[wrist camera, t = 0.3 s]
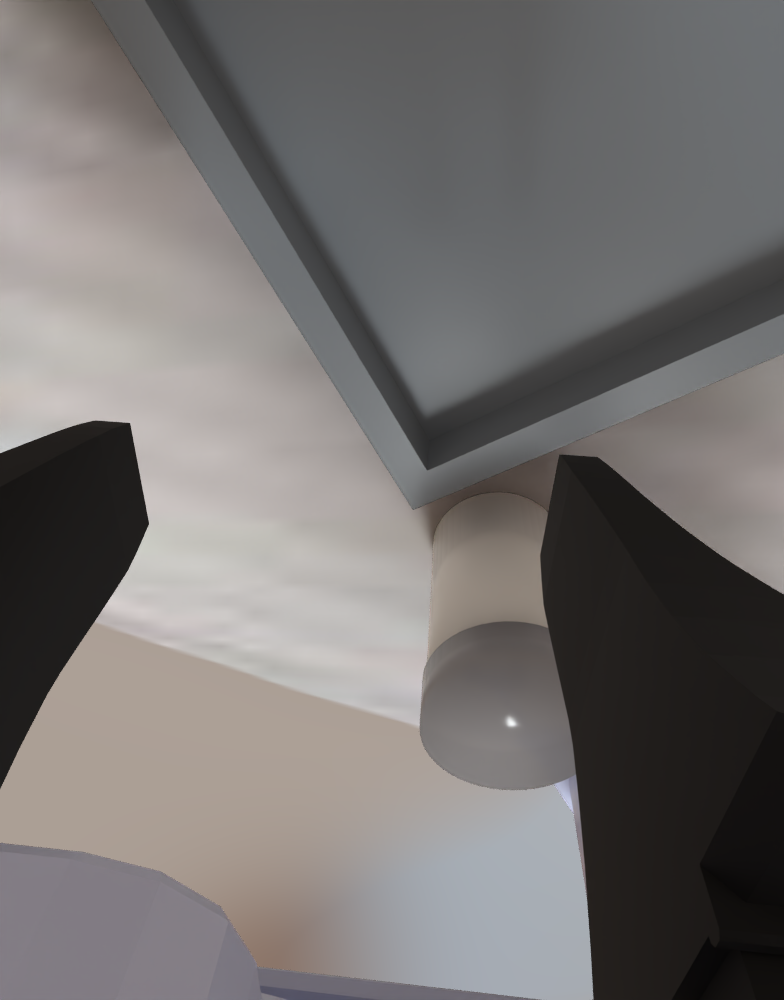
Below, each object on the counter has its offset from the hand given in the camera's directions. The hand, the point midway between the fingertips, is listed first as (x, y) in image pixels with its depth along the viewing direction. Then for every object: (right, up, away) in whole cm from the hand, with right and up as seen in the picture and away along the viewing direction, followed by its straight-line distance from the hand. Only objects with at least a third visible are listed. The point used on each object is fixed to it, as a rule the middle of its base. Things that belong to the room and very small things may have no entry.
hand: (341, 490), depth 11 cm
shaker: (+5, -2, +12) cm, 13 cm away
